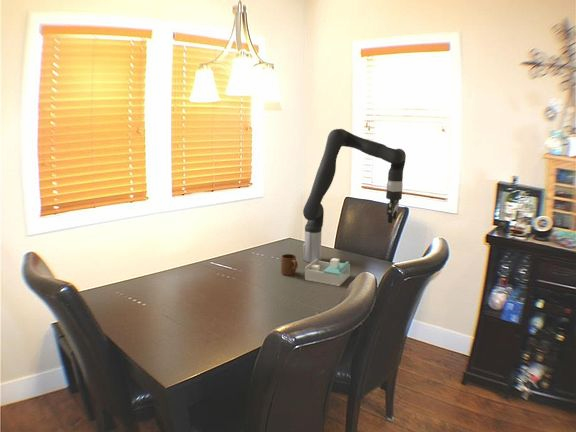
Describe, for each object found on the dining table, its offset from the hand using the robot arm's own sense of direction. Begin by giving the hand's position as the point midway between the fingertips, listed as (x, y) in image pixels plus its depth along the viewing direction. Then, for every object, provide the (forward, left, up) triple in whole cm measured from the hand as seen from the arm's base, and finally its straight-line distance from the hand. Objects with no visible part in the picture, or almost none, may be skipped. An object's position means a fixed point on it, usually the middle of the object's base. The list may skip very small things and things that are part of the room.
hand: (392, 221), depth 225 cm
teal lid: (-21, -20, -23) cm, 37 cm away
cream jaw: (-22, -20, -22) cm, 37 cm away
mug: (-44, -25, -29) cm, 58 cm away
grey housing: (-26, -20, -28) cm, 44 cm away
